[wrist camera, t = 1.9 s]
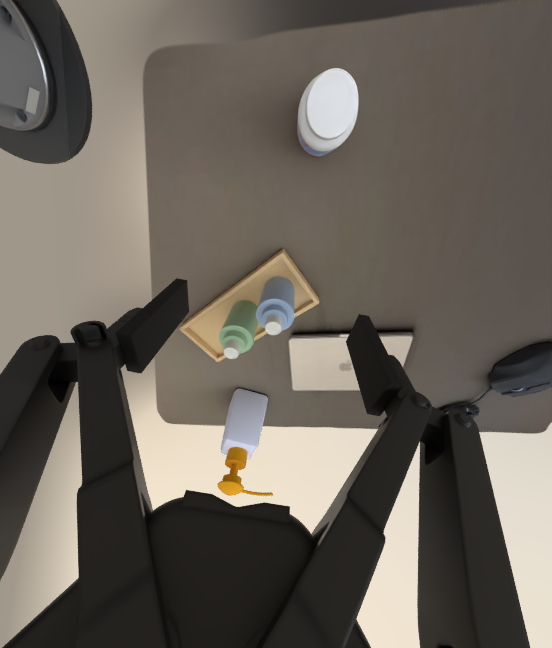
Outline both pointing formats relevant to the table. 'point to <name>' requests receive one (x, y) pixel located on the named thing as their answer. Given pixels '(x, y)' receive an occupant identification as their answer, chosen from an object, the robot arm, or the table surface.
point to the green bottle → (239, 329)
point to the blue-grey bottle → (276, 305)
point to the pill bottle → (327, 112)
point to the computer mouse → (518, 375)
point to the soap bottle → (241, 437)
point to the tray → (250, 288)
